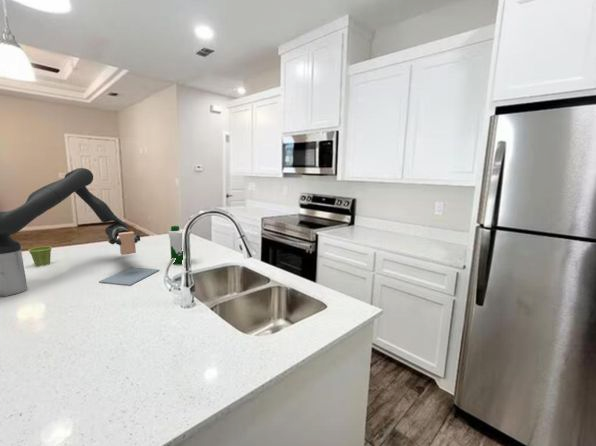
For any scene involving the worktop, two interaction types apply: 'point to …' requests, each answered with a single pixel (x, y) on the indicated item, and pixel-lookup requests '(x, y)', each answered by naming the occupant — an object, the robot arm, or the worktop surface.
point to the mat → (129, 276)
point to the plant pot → (41, 255)
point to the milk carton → (176, 244)
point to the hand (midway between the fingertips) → (128, 242)
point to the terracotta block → (127, 243)
